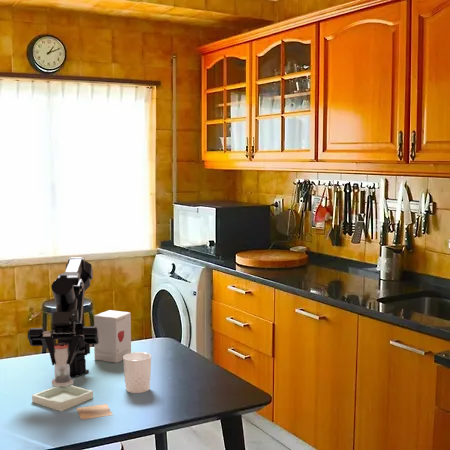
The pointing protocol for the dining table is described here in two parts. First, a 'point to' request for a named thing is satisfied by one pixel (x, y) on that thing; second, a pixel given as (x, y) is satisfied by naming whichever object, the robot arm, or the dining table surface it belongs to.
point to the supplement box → (113, 335)
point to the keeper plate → (94, 411)
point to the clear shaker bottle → (62, 366)
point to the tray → (62, 397)
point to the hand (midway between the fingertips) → (61, 364)
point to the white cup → (137, 371)
